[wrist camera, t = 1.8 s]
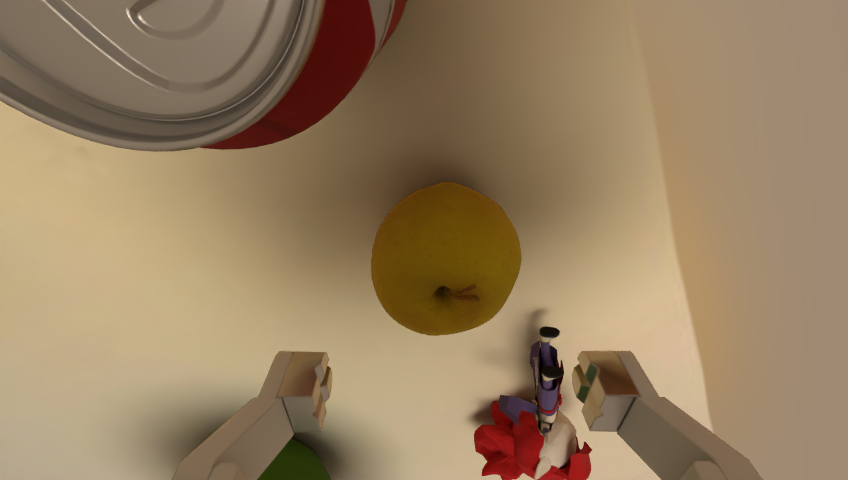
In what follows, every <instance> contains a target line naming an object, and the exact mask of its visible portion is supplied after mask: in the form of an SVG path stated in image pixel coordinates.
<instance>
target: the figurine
mask: <svg viewBox="0 0 848 480" xmlns="http://www.w3.org/2000/svg"><path fill="white" fill-rule="evenodd" d="M559 332H560V331H559V330H558V329H556V328H553V327H542V328H541V329H540V339H541V347H540V342H539V341H538V342H536V343H535V344H534V345H532V346H531V355H530V365H531V367H532V369H533V375H534V382H535V391H536V377H535V363H534V359H533V357H538V363H537V368H538V386H537V397H536V394H535V400H534V399H533V400H532V402H533V403H534V404H533V403H530V402H528V401H524V400H521V398H518V397H512V396H504V395H500V398H499V404H498V403H497V402H496V401H494V402H493V405H492V412H491V416H492V418H493V420H494V423H495V425H482V426H480V427H479V428H478V429H477V430H476V431H475V433H474V441H475V449H476V452H478V453H480V454H482V455H483V456H484V458H485V459H486V460H487V463H486V464H485V466H484V468H483V470H482V476H486V475H491V474H497V475H500V476H501V478H502V480H512V479H517V478H519V476H520V475H521V474H522V473H525V474H526V475H528V476H530V477H531V478H533V479H535V480H565V479H566V480H586V479H587V478H588V477H589V475H590V472H591V463H590V458H589V453H590V452H591V451H592V449H591V448H590V447H589V446H588V444H587V443H586V442H584V446H583V448H582V450H580V449H579V445H578V440H577V437H576V430H575V427H574V426H573V425H572V423H571V422H570V421H569V419H568V418H567V417H566V416H564V415H563V414H562V413H561V412H560V411H559V410H558V408H559V407H558V401H559V406H560V405H561V404H562V398H561V394H560V388H561V387H560V385H561V383H562V379H563V375H564V369H563V363H562V360H561V366H560V367H559V364H558V360H557V350H556V349H555V348H554V347H552V346H550V345H549V341H550V340H551V339H553V338H555V337H557V336H558V335H559ZM520 410H521V412H520Z"/></svg>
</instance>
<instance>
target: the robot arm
mask: <svg viewBox="0 0 848 480" xmlns="http://www.w3.org/2000/svg"><path fill="white" fill-rule="evenodd" d="M328 361H329V358H328V354H327V352H289V351H279V352H278V353H277V355H276V356H275V358H274V360H273V363H272V365H271V368H270V370H269V372H268V375H267V377H266V380H265V382H264V385H263V387H262V389H261V392H260V394H259V397H258V398H253V399H252V400H250V401H249V402H248V403H247V404H246V405H245V406H244V407H242V408H241V409H240V410H239V411H238V412H237V413H236V414H234V415H233V416H232V417H231V418H230V419H229V420H228V421H226V422H225V423H224V424H223V425H222V426H221V427H220V428H218V429H217V430H216V431H215V432H214V433H213V434H212V435H210V436H209V437H208V438H207V439H206V440H205V441H204V442H202V443H201V444H200V445H199V446H198V447H197V448H196V449H194V450H193V451H192V452H191V453H190V454H189V455H188V456H186V457H185V458H184V459H183V460H182V461H181V463H180V465H179V467H178V468H177V470H176V472H175V474H174V476H173V478H172V480H257V479H258V478H259V477H260V475H261V474H262V473H263V472H264V471H265V469H266V468H267V467H268V466H269V464H270V463H271V462H272V461H273V460H274V458H275V457H276V456H277V455H278V453H279V452H280V451H281V450H282V449H283V447H284V446H285V445H286V444H287V442H288V441H289V440H290V439H291V438H292V436H293V435H294V433H299V432H322V428H323V423H324V419H325V415H326V408H325V402H326V401H327V400H328V399H329V398H330V393H331V387H332V371H331V368H330V367H329V366H327V365H328ZM578 361H579V363H580V364H579V365H577V366H576V367H574V370H573V373H572V384H573V389H574V392H575V395H576V397H577V398H578V399H579V400H580V401H581V402H582V403H584V405H583V408H582V413H583V415H584V418H585V420H586V423H587V425H588V428H589V430H590V431H609V432H617V434H618V435H619V436H620V437H621V438H622V439H623V440H624V441H625V442H626V443H627V444H628V445H629V446H630V447H631V448H632V449H633V450H634V451H635V452H636V453H637V454H638V456H639V457H640V458H641V459H642V460H643V461H644V462H645V463H646V464H647V465H648V466H649V467H650V468H651V469H652V470H653V471H654V472H655V473H656V474H657V475H658V476H659V477H660V478H661V480H762V478H761V477H760V475H759V474H758V472H757V471H756V469H755V468H754V467H753V465H752V464H751V462H750V461H749V460H748V459H747V458H746V457H744V456H743V455H742V454H740V453H739V452H738V451H736V450H735V449H733V448H732V447H731V446H729V445H728V444H727V443H725V442H724V441H723V440H721V439H720V438H719V437H717V436H716V435H715V434H713V433H712V432H711V431H709V430H708V429H707V428H705V427H704V426H703V425H701V424H700V423H698V422H697V421H696V420H694V419H693V418H692V417H690V416H689V415H688V414H686V413H685V412H684V411H682V410H681V409H680V408H678V407H677V406H676V405H674V404H673V403H671V402H670V401H669V400H667V399H666V398H665V397H659V396H658V394H657V392H656V391H655V389H654V387H653V386H652V384H651V382H650V381H649V379H648V377H647V376H646V374H645V372H644V371H643V369H642V367H641V366H640V364H639V362H638V361H637V359H636V358H635V356H634V354H633V353H632V352H630V351H582V352H581V353H580V354H579V356H578Z"/></svg>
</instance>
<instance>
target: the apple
mask: <svg viewBox="0 0 848 480" xmlns="http://www.w3.org/2000/svg"><path fill="white" fill-rule="evenodd" d="M520 265H521V249H520V243H519V239H518V236H517V233H516V230H515V228H514V226H513V225H512V223H511V221H510V219H509V218H508V216H507V215H506V213H505V212H504V210H503V209H502V208H501V206H499V205H498V204H497V203H495V202H494V201H493V200H491V199H490V198H488V197H486V196H483V195H482V194H480V193H478V192H476V191H474V190H472V189H470V188H468V187H466V186H463V185H460V184H457V183H452V182H443V183H439V184H436V185H432V186H429V187H425V188H422V189H420V190H417V191H415V192H413V193H411V194H409V195H408V196H407V197H405V198H404V199H403V200H401V201H400V202H399V203H398V204H397V205H396V206H395V207H394V208H393V209H392V210H391V212H390V213H389V214H388V215H387V216H386V218H385V219H384V221H383V222H382V224H381V226H380V228H379V230H378V232H377V234H376V237H375V241H374V245H373V249H372V259H371V269H372V280H373V284H374V287H375V291H376V294H377V297H378V299H379V301H380V303H381V304H382V306H383V308H384V309H385V311H386V312H387V313H388V314H389V315H390V316H391V317H392V318H393V319H394V320H395V321H397V322H398V323H399V324H401V325H403V326H404V327H406V328H408V329H410V330H412V331H415V332H418V333H421V334H426V335H434V336H438V335H448V334H454V333H458V332H463V331H466V330H470V329H473V328H475V327H478V326H480V325H482V324H484V323H486V322H487V321H489V320H490V319H491V318H493V317H494V316H495V315H496V314H497V313H498V312H499V310H500V309H501V308H502V307H503V305H504V303H505V302H506V300H507V298H508V296H509V294H510V293H511V290H512V288H513V286H514V284H515V281H516V279H517V277H518V274H519V270H520Z"/></svg>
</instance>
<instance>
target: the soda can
mask: <svg viewBox="0 0 848 480" xmlns="http://www.w3.org/2000/svg"><path fill="white" fill-rule="evenodd" d="M406 2H407V0H0V101H2V102H4V103H6V104H7V105H9V106H11V107H13V108H15V109H17V110H19V111H20V112H22V113H24V114H26V115H28V116H30V117H32V118H34V119H36V120H38V121H41V122H43V123H45V124H47V125H49V126H51V127H54V128H57V129H59V130H62V131H64V132H67V133H69V134H72V135H75V136H78V137H81V138H84V139H87V140H90V141H93V142H97V143H101V144H106V145H110V146H114V147H119V148H126V149H132V150H141V151H179V150H187V149H194V148H198V147H200V148H209V149H245V148H253V147H259V146H263V145H268V144H272V143H275V142H278V141H281V140H284V139H287V138H290V137H292V136H294V135H296V134H298V133H300V132H302V131H304V130H306V129H307V128H309V127H311V126H312V125H314V124H315V123H317V122H319V121H320V120H321V119H322V118H324V117H325V116H326V115H327V114H329V113H330V112H331V111H332V110H333V109H334V108H335V107H336V106H337V105H338V104H339V103H340V102H341V101H342V100H343V99H344V98H345V97H346V96H347V94H348V93H349V92H350V91H351V89H352V88H353V87H354V86H355V84H356V83H357V82H358V80H359V79H360V77H361V76H362V75H363V73H364V72H365V70H366V69H367V68H368V66H369V65H370V63H371V62H372V61H373V59H374V58H375V57H376V55H377V54H378V52H379V51H380V50H381V48H382V47H383V45H384V44H385V43H386V41H387V40H388V38H389V37H390V36H391V34H392V33H393V31H394V30H395V28H396V26H397V24H398V23H399V21H400V19H401V16H402V14H403V11H404V9H405V6H406Z"/></svg>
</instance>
